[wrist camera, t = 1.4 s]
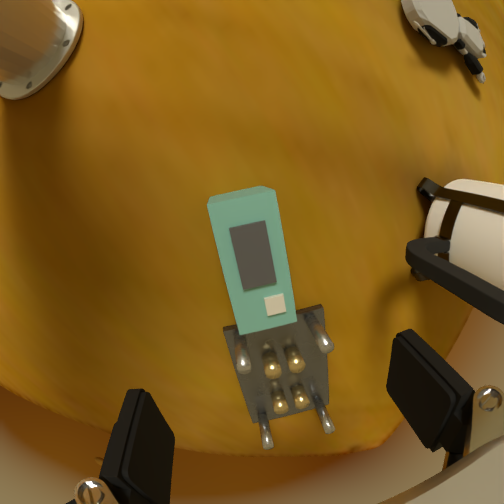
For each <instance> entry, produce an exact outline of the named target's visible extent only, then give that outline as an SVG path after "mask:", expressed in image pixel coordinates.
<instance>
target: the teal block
mask: <svg viewBox="0 0 504 504" xmlns="http://www.w3.org/2000/svg"><path fill="white" fill-rule="evenodd" d="M207 207H208V212H209V216H210V220H211V224H212V229H213V233H214V237H215V241H216V245H217V249H218V253H219V257H220V261H221V265H222V269H223V273H224V277H225V281H226V285H227V289H228V293H229V297H230V300H231V304H232V308H233V312H234V315H235V319H236V323H237V327H238V330H239V334H240V335H244V334H248V333H252V332H257V331H261V330H265V329H270V328H274V327H278V326H282V325H286V324H290V323H293V322H297V317H296V310H295V304H294V297H293V291H292V284H291V278H290V272H289V266H288V260H287V254H286V248H285V242H284V237H283V231H282V226H281V220H280V214H279V209H278V204H277V198H276V193H275V190H273V189H270V188H267V187H264V186H258V187H253V188H248V189H243V190H238V191H234V192H229V193H225V194H220V195H216V196H212V197H210V198H209V201H208V203H207Z"/></svg>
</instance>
